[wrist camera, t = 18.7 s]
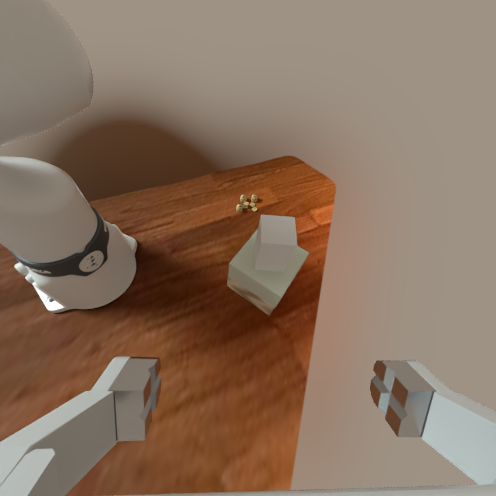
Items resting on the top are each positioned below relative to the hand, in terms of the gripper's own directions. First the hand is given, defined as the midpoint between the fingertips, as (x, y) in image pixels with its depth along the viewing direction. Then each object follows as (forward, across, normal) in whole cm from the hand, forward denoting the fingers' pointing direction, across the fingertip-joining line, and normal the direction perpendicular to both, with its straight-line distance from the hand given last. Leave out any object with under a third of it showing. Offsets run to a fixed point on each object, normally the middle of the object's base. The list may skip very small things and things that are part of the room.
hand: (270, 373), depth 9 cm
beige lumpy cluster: (+54, -2, -3) cm, 54 cm away
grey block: (+32, -5, +4) cm, 33 cm away
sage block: (+36, -5, +8) cm, 37 cm away
